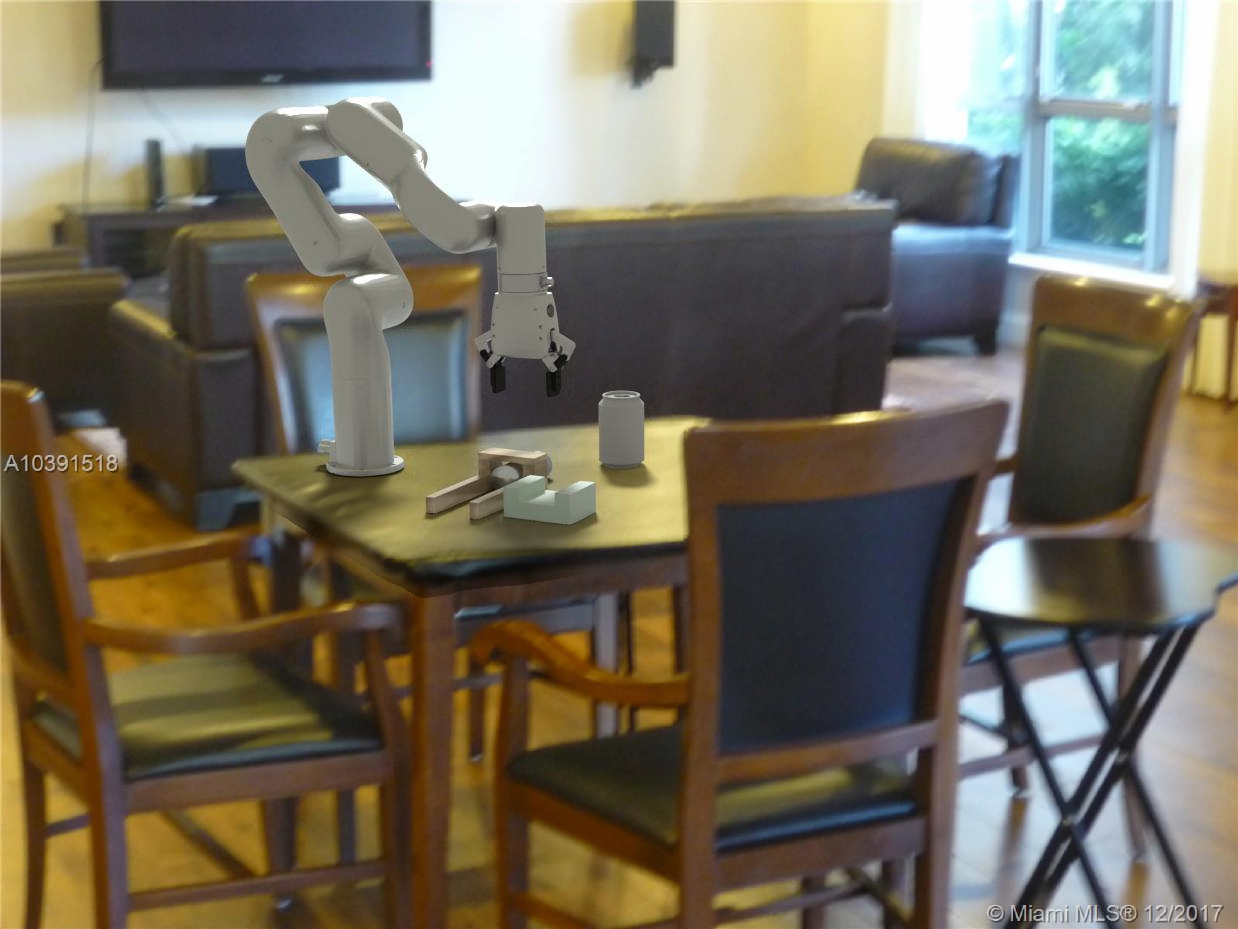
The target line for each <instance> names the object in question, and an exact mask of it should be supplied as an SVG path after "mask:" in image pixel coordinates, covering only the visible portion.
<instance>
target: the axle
mask: <svg viewBox="0 0 1238 929" xmlns="http://www.w3.org/2000/svg"><path fill="white" fill-rule="evenodd" d="M534 452H540V453H546V452H545V451H542V450H535V451H534ZM552 470H553V461H552V459H551V457H550V455H549V454H547V477H548V476H549V475H550V474H551V473H552ZM522 478H523V464H521V463H512V462H506V463H505V464H503V465H502V466H500V467H498V468H496V469H495V470H494V471H493V473H492V475H491V482H492V485H493V487H494V489H493V490H494V491H496V490H498V489H500V488H502V487H504V486H506V485H509V484H511V483H513V482H516V481H518V480H520V479H522Z"/></svg>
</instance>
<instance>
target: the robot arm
mask: <svg viewBox="0 0 1238 929" xmlns="http://www.w3.org/2000/svg"><path fill="white" fill-rule="evenodd" d="M403 130H404V123H403V117H402V115H401V113H400V111H399V110H398V108H397V107H396V106H395V104H393V103H392V102H391V101H389V100H387V99H385V98H383V97H379V96H365V97H364V96H363V97H349V98H344V99H342V100H340V101H337V102H335V104H329V105H328V104H327V105H321V106H320V105H319V106H304V107H303V106H300V107H283V108H281V107H280V108H276V109H271V110H270V111H267V112H265V113H263V114H261V115H260V116H258V117H257V118H256V120H255V121H254V122H253V123H252V125H251V127H250V129H249V131H248V134H247V137H246V141H245V148H244V151H245V152H244V153H245V154H244V155H245V162H246V167H247V169H248V172H249V175H250V177H251V179H252V181H253V182H254V184H255V186H256V188H257V189H258V191H259V192H260V193H261V195H262V196H263V198H264V199H265V201H266V203H267V204H268V206H269V207H270V209H271V210H272V212H273V214H274V216H275V218H276V219H277V221H278V223H279V226H280V227H281V229H282V230H283V232H284V234H285V236H286V238H287V239H288V241H289V242H290V244H291V246H292V247H293V250H294V251H295V252H296V254H297V257H298V258H299V260H300V261H301V263H302V265H303V266H304V268H305V269H307V270H308V271H309V273H310V274H313V275H314V276H318V277H333V276H337V275H342V274H344V276H345V277H344V278H342V279H339V280H337V281H336V282H335V283H333V285H331V286H330V288H329V289H328V290H327V292H326V294H325V296H324V300H323V304H322V315H323V316H322V317H323V322H324V325H325V330H326V334H327V339H328V345H329V346H328V347H329V354H330V368H331V370H330V371H331V382H332V383H331V384H332V387H331V388H332V401H333V402H332V407H333V408H332V410H333V430H334V439H326V438H322V439H321V440H319V441H320V442H319V444H318V445H317V452H318V453H320V454H321V453H322V454H329V460H328V461H327V462H326V470H327V471H328V472H329V473H331V474H333V473H334V475H339V476H345V477H373V476H374V477H375V476H382V475H388V474H392V473H396V472H399V471H400V470H403V468H404V466H405V460H404V458H402V457H401V456H399V455H395V445H394V444H395V443H394V442H395V441H394V419H393V415H394V413H393V412H394V411H393V389H392V369H391V367H392V366H391V357H390V352H389V348H388V344H387V341H386V338H385V335H384V331H383V330H386V329H389V328H392V327H395V326H396V327H397V326H398V325H400V324H402V323H404V322H405V321H406V320H407V319H408V318H409V316H410V315H411V313H412V311H413V309H414V308H413V307H414V302H415V301H414V293H413V289H412V286H411V284H410V282H409V280H408V277H407V275H406V274H405V272H404V271H403V269H402V267H401V265H400V264H399V261H398V260H397V259H396V257H395V255H394V253H393V252H392V250H391V248H390V246H389V244H387V243H388V242H386V240H385V238H384V236H383V235H382V234H381V232H380V230H379V229H378V228H377V227H376V225H375V224H374V223H373V222H371V221H370V219H368V218H366V217H364V216H363V215H360V214H357V213H347V212H346V213H339V214H338V213H337V212H336V211H335V210H334V208H333V206H332V205H331V204H330V202H329V201H328V199H327V197H326V196H325V193H323V190H322V188H321V187H320V186H319V184H318V183H317V182H316V181H315V179H314V178H312V177H311V175H309V173H307V172H306V171H305V170H304V169H303V167H302V166H301V165H300V162H306V161H315V160H318V161H319V160H324V159H332V158H339V157H347V158H349V159H351V161H352V162H354V163H355V164H356V165H358V166H359V167H360V168H362V169H363V170H364V171H365V172H367V173H368V174H369V175H370V176H371V177H372V178H374V179H375V180H376V181H377V182H379V184H381V185H383V187H385V188H386V189H387V190H388V191H389V192H390V193H391V195H392V198H393V201H394V202H395V204H396V206H397V207H398V209H399V211H400V213H401V214H402V215H403V217H404V218H405V219H406V221H407V222H408V223H409V224H410V225H411V226H412V227H414V228H415V230H417V231H418V232H419V233H421V234H422V235H423V236H424V237H425V238H427V239H428V240H429V241H430V242H432V243H433V244H435V246H437V247H439V248H440V249H442V250H444V251H446V252H449V253H452V254H455V255H456V254H458V255H461V254H467V253H471V252H472V253H473V252H476V251H482V250H487V249H491V248H496V266H497V268H496V270H497V292H495V293H494V297H493V301H492V302H493V303H492V308H491V309H492V310H491V322H490V329H489V330H488V331H485V332H483V333H482V334H481V335H478V336H477V337H475V338H474V343H475V345H476V346H475V347H476V348H477V350H478V351H479V355H480V357H481V358H482V360H484V362H485V364H486V366H487V368H489V371H490V372H489V373H490V377H489V378H490V386H491V391H492V392H491V393H492V394H498V393H502V392H505V391H506V389H507V378H506V376H507V375H506V365H505V364H503V362H504V361H505V360H506V358H516V359H530V360H531V359H533V360H535V359H536V360H540V359H541V360H542V362H543V363H544V364H545V366H546V367H547V368H548V371H546V373H545V386H546V388H545V389H546V397H548V398H553V397H556V396H558V395H560V394H561V390H562V369H564V367H565V366H566V364H568V363H569V361H570V360H571V358H572V355H573V353H574V351H575V348H576V346H577V344H576V342H574V341H573V340H571V339H569V338H568V337H566V336H565V335H563V334H561V333H560V328H559V318H558V314H557V313H558V312H557V308H556V302H555V299H554V296H553V292H550V291H548V289H549V287H554V284H555V279H554V278H553V277H549V276H548V272H547V246H546V216H545V209H544V207H543V206H542V205H541V204H539V203H537V202H526V201H525V202H523V201H522V202H520V201H518V202H507V203H506V202H500V201H494V200H486V199H481V200H470V201H464V202H458V201H456V200H455V199H454V198H453V197H451V196H449V195H448V194H447V192H446V193H445V191H443V190H442V189H441V188H440V187H438V185H437V184H436V183H435V182H433V180H432V178H430V176H429V175H428V173H427V171H426V168H427V165H428V158H429V157H428V152H427V150H426V149H425V148H424V147H423V146H422V145H421V144H419V143H418V142H417V141H415V140H414V139H413V138H412V137H410V136H409V135H408V134H406V133H405V132H404V131H403ZM489 341H490V344H491V345H490V346H491V349H490V348H489V345H488V342H489ZM560 347H562V351H561V354H559V352H560V350H561V348H560ZM558 354H559V356H558Z"/></svg>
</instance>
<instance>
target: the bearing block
mask: <svg viewBox="0 0 1238 929" xmlns="http://www.w3.org/2000/svg"><path fill="white" fill-rule="evenodd" d="M547 455H548V453H547V452H545V453H540V452H535V451H529V450H518V449H511V448H501V447H500V448H499V447H489V448H486V449H483V450H481V451H479V452H477V465H478V466H477V467H478V468H477V469H478V474H477V475H475V476H472V477H469V478H467V479H465V480H463V481H460V482H457V483H456V484H453V485H450V486H448V487H446V488H443V489H440V490H439V491H436V492H434V493H430V494H428V495H426V496H425V514H429V513H436V514H438V512H439V513H441V512H443V511H446V510H448V509H450V508H452V507H455V506H456V505H459V504H461V503H463V502H466V501H468V500H470V499H473V498H475V499H473V500H471V501H468V502H469V504H468V505H469V519H470V518H474V519H473V520H477V519H479V520H481V519H483V518H482V517H484V518H485V517H487V516H490V515H492V514H494V513H497V512H499V511H501V510H504V496H503V487H502V488H500V489H498V490H495V489H494V487H493V485H492V482H491V475H492V473H493V471H494V470H495V469H496V468H498V467H500V466H502V465H504V464H503V462H506V463H509V462H512V463H521V464H523V478H525V477H527V476H529V475H533V476H542V477H545V490H549V489H548V487H549V486H548V485H549V483H548V476H547ZM491 490H493V491H491ZM489 491H491V492H489ZM486 492H489V493H486ZM485 493H486V494H485ZM482 494H485V495H482ZM480 495H482V496H480ZM478 496H479V497H478ZM476 497H477V498H476ZM442 510H443V511H442ZM440 511H441V512H440ZM480 518H481V519H480Z"/></svg>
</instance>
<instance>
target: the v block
mask: <svg viewBox="0 0 1238 929" xmlns="http://www.w3.org/2000/svg"><path fill="white" fill-rule="evenodd" d="M596 484H597V483H596V482H595V481H585V480H578V481H577V482H574V483H573V484H570V485H568V486H566V487H564V488H562V489H559V490H549V489H548V490H545V477H542V476H533V475H529V476H527V477H525V478H522V479H520V480H518V481H516V482H513V483H511V484H509V485H506V486H504V487H503V496H504V508H503V517H504V518H510V517H511V519H512V518H513V519H518V520H519V519H520V520H528V521H534V520H535V521H536V522H541V523H543V522H544V523H551V524H559V525H561V524H562V525H566V524H567V526H572V525H573V524H575V523H577V522H580V521H581V520H583V519H586V518H587V517H589V516H591V515H593V514H595V513H596V512H597V506H596V505H597V502H596V500H597V498H596V496H597V494H596V490H597V489H596V486H597V485H596ZM571 524H572V525H571Z"/></svg>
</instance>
